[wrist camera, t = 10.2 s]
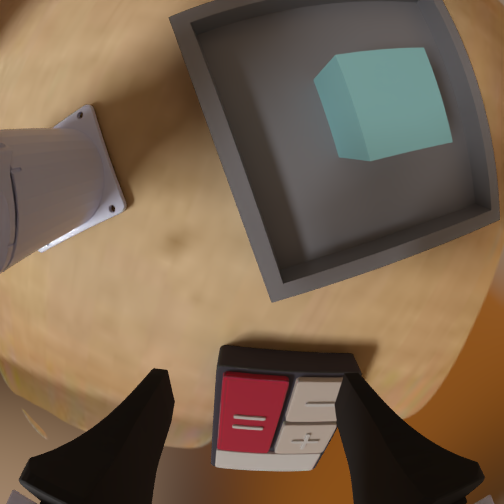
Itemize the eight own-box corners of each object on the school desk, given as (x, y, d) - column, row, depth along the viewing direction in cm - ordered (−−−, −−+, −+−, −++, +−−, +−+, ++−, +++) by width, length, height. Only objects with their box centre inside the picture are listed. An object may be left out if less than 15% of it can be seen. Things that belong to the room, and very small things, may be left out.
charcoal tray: (269, 284, 19) (271, 302, 17) (179, 32, 14) (168, 17, 11) (480, 211, 17) (499, 219, 15) (417, -5, 12) (432, -17, 9)
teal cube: (338, 157, 16) (370, 161, 11) (313, 79, 14) (335, 54, 10) (407, 140, 15) (452, 142, 11) (384, 68, 14) (423, 47, 9)
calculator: (367, 378, 18) (315, 475, 23) (351, 346, 23) (310, 446, 27) (215, 371, 18) (209, 471, 22) (221, 337, 22) (213, 441, 27)
